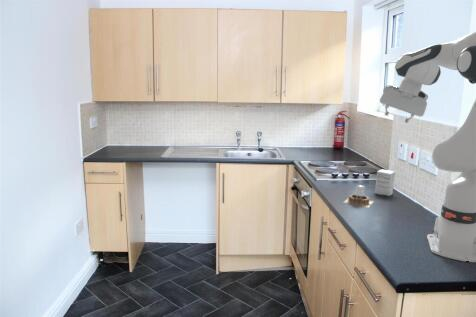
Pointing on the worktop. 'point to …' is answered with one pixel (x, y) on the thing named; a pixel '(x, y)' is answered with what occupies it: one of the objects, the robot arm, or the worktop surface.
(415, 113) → the robot arm
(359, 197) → the peg
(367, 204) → the brown cake on plate
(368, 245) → the worktop surface
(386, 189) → the supplement box
